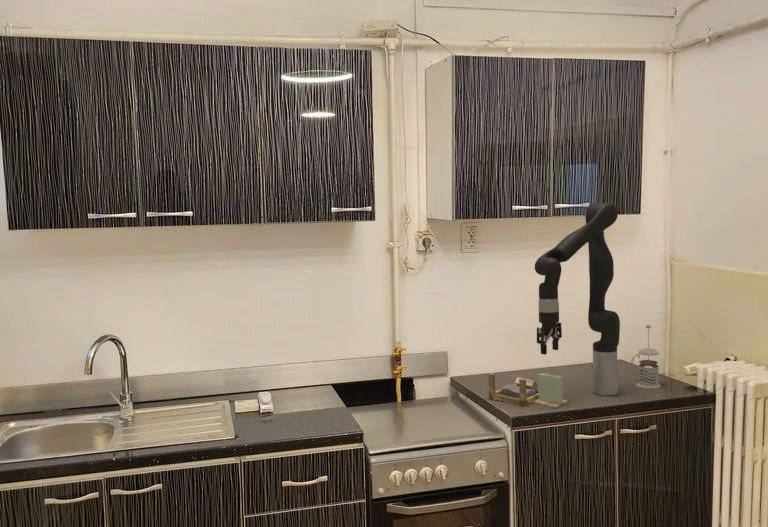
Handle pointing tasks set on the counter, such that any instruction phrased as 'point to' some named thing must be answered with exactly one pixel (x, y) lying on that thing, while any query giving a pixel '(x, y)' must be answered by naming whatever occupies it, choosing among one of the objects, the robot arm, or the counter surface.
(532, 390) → the stone block
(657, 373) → the french press
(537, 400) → the slatted wooden panel
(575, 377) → the counter surface
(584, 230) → the robot arm
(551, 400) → the sage board
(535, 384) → the birch offcut
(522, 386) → the oak rack
